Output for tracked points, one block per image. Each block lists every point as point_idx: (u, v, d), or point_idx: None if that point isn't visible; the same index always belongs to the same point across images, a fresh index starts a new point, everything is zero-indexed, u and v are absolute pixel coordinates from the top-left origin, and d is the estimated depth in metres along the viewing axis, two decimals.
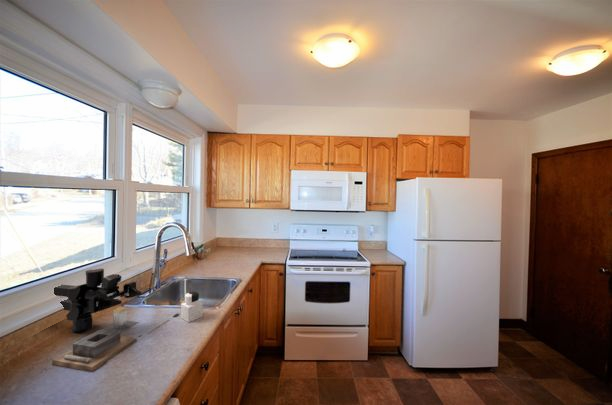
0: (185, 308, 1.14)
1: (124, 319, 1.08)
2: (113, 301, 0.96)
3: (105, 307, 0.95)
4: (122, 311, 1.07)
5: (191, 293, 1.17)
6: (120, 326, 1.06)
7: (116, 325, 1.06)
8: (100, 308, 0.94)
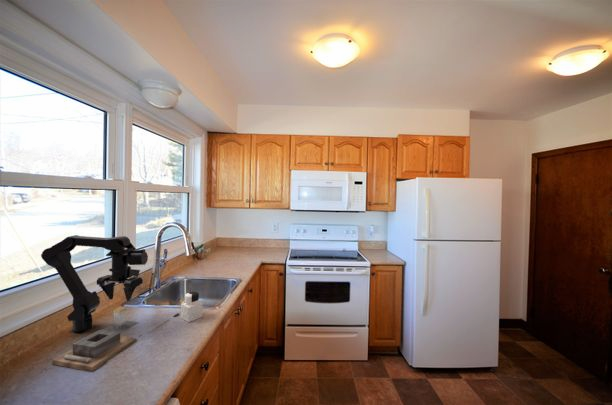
0: (185, 308, 1.14)
1: (124, 319, 1.08)
2: (131, 295, 1.07)
3: (128, 290, 1.04)
4: (122, 311, 1.07)
5: (191, 293, 1.17)
6: (120, 326, 1.06)
7: (116, 325, 1.06)
8: None
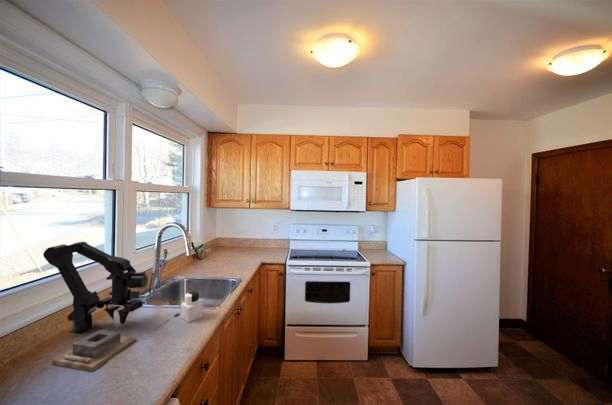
0: (185, 308, 1.14)
1: None
2: (126, 317, 1.08)
3: (122, 313, 1.05)
4: None
5: (191, 293, 1.17)
6: (120, 326, 1.06)
7: (116, 325, 1.06)
8: None
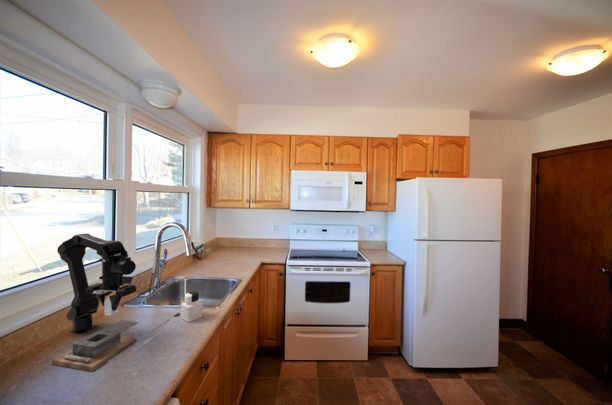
0: (185, 308, 1.14)
1: None
2: (118, 303, 1.00)
3: (114, 299, 0.97)
4: None
5: (191, 293, 1.17)
6: (112, 313, 0.98)
7: (108, 312, 0.98)
8: None
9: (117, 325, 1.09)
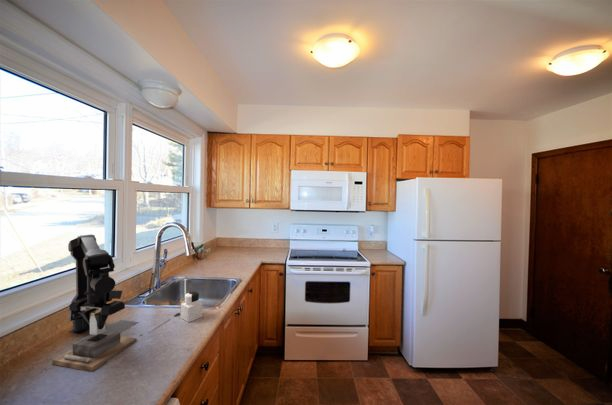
0: (185, 308, 1.14)
1: None
2: (104, 321, 0.90)
3: (100, 317, 0.88)
4: None
5: (191, 293, 1.17)
6: (97, 332, 0.89)
7: (93, 331, 0.89)
8: None
9: (117, 325, 1.09)
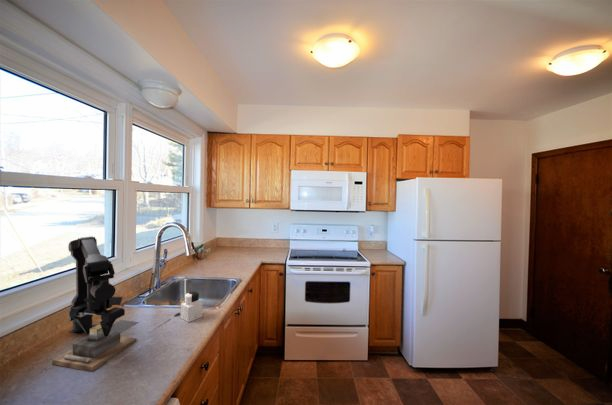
0: (185, 308, 1.14)
1: None
2: (110, 329, 0.90)
3: (105, 324, 0.87)
4: (100, 330, 0.90)
5: (191, 293, 1.17)
6: None
7: None
8: None
9: (117, 325, 1.09)
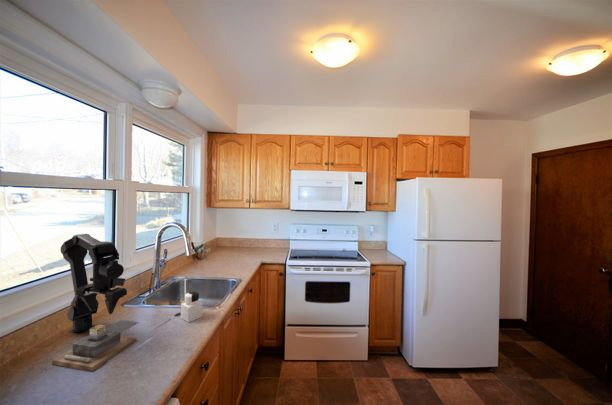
0: (185, 308, 1.14)
1: None
2: (114, 307, 0.97)
3: (110, 303, 0.94)
4: (100, 330, 0.90)
5: (191, 293, 1.17)
6: None
7: None
8: None
9: (117, 325, 1.09)
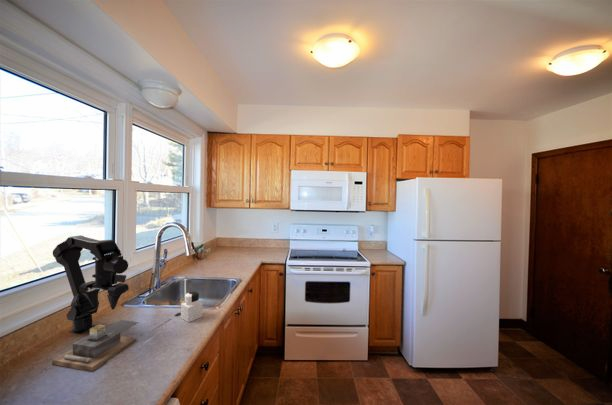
0: (185, 308, 1.14)
1: None
2: (116, 302, 1.00)
3: (112, 298, 0.98)
4: (100, 330, 0.90)
5: (191, 293, 1.17)
6: None
7: None
8: None
9: (117, 325, 1.09)
